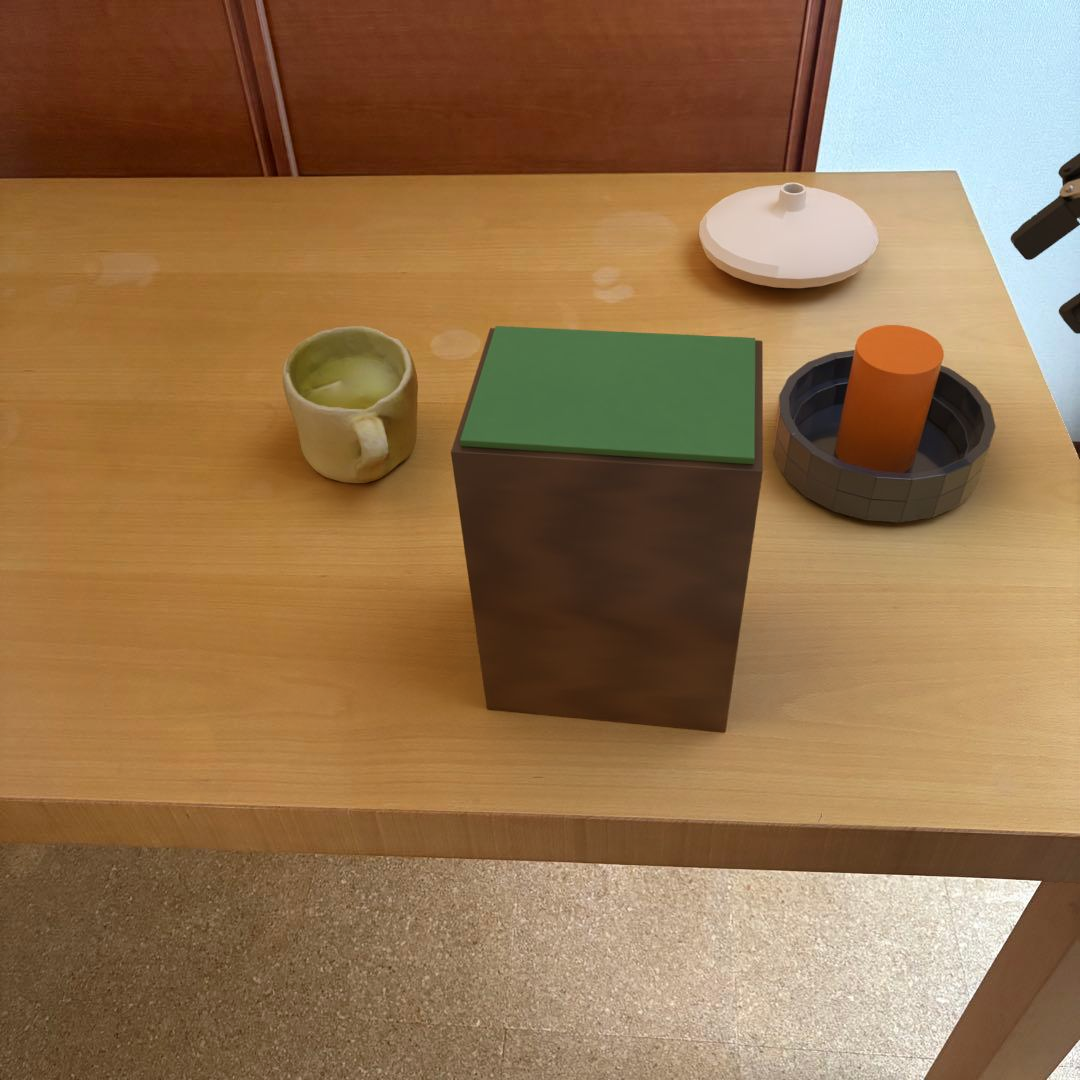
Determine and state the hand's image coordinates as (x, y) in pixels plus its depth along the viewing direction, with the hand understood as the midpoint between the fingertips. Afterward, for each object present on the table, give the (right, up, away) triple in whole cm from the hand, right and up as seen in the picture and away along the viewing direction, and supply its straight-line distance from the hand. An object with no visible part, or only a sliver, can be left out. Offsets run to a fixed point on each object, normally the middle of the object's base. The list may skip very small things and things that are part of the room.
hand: (1041, 285), depth 66 cm
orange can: (-7, -10, +10) cm, 16 cm away
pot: (-7, -10, +10) cm, 16 cm away
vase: (-9, +9, +30) cm, 32 cm away
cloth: (-28, -9, -16) cm, 33 cm away
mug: (-45, -10, +12) cm, 47 cm away
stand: (-27, -23, -1) cm, 36 cm away
